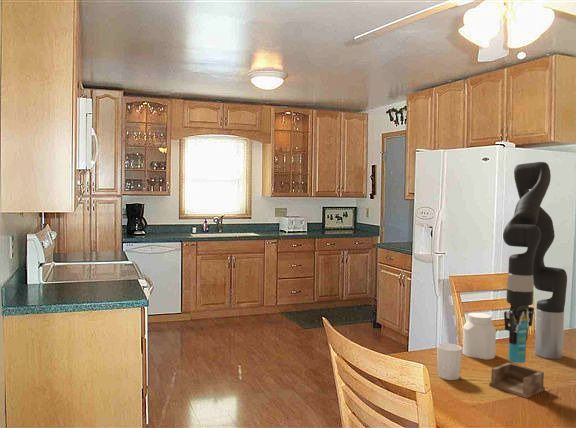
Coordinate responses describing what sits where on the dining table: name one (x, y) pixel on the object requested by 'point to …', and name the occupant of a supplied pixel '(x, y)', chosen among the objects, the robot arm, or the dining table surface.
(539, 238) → the robot arm
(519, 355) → the tube
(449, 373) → the white cup
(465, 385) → the dining table surface
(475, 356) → the jar
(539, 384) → the u rest
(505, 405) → the dining table surface
